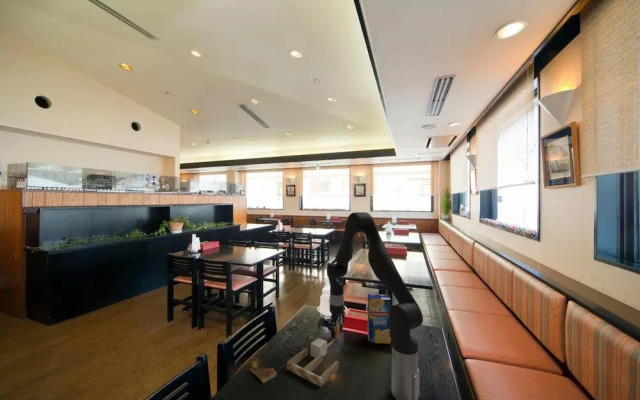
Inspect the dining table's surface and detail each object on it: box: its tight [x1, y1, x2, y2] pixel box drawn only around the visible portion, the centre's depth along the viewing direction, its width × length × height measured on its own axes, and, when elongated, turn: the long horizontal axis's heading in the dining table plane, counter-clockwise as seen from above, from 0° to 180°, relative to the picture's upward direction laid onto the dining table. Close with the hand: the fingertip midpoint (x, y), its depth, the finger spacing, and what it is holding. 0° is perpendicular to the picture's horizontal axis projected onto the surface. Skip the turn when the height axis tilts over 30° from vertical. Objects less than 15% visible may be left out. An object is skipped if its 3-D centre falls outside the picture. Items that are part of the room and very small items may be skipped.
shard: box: [248, 367, 277, 384], centre depth 104 cm, size 11×8×2 cm
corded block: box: [310, 323, 340, 359], centre depth 123 cm, size 5×20×8 cm, turn 145°
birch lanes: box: [286, 347, 340, 388], centre depth 106 cm, size 18×13×3 cm
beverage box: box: [367, 293, 392, 345], centre depth 130 cm, size 7×11×22 cm, turn 85°
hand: (336, 334), depth 130 cm, fingers open, 6 cm apart
